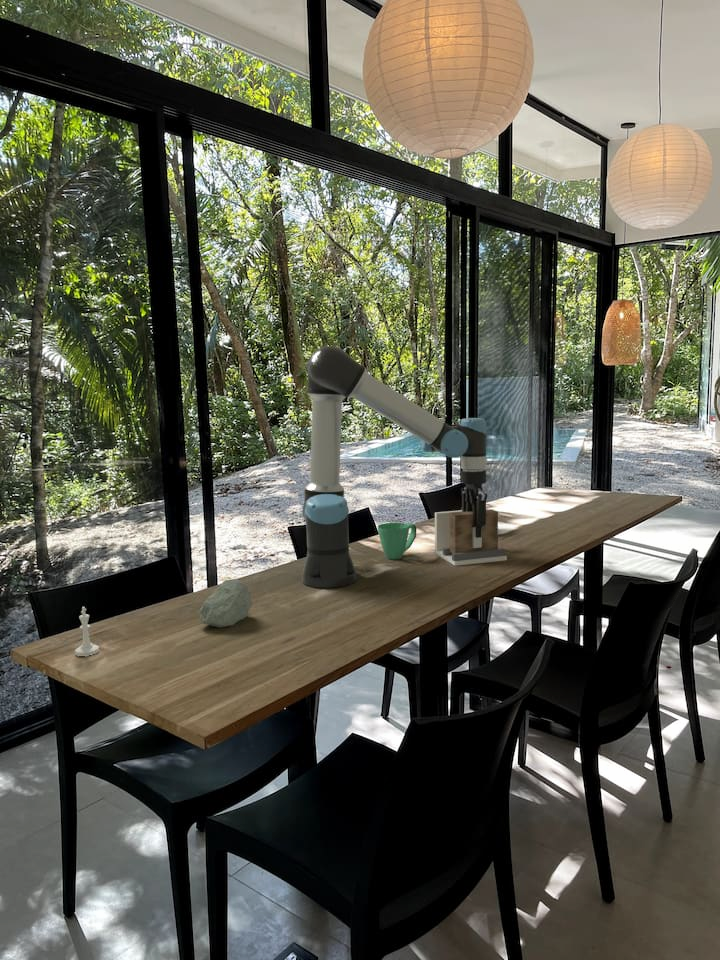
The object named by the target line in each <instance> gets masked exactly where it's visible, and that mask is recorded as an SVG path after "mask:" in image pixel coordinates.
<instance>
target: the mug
mask: <svg viewBox="0 0 720 960" xmlns="http://www.w3.org/2000/svg"><path fill="white" fill-rule="evenodd" d="M377 531H378V537H379V540H380V545H381V548H382V551H383V553H384V555H385V557H386V559H388V560H399V559H402V558H403V555H404V553H405V552H407V551H408V549H410V548H411V547H412V545H413V543H414V541H415V540H416V538H417V526H416V525H415V523H412V522H411V523H402V522H385V523H381V524H378V525H377ZM409 533H410V534H409Z"/></svg>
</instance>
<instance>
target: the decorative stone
mask: <svg viewBox="0 0 720 960" xmlns="http://www.w3.org/2000/svg"><path fill="white" fill-rule="evenodd" d="M252 604H253V602H252V599H251V592H250V591H249V588H248V585H247V584H245V582H242V581H241V580H239V579H237V578H232V579H225V580H224V581H222V582H221V584H220V585H219V586H218V587H216V588H215V590H214V591H213V593H212V594H211V595H209V596H208V598H207V599H206V600H205V602H204V603H203V605H202V606H201V608H199V612H198V614H199V620H200V622H201V623H202V624H204V625H209V626H210V627H214V628H218V629H219V628H222V629H223V628H226V627H232V626H234V625H235V624H236V623H238V622H240V621H242V620H244V619H245V618H247V617H248V615H249V611H250V609H251V607H252Z"/></svg>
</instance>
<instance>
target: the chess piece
mask: <svg viewBox="0 0 720 960" xmlns="http://www.w3.org/2000/svg"><path fill="white" fill-rule="evenodd" d="M86 611H87V608H86V607H85V606H82V608H81V611H80V614H81V615H79V616H78V618H79V620H80V623H81V625H80V626H79V629H80V630H82V642H81V643H82V644H80V646H79V647H77V648H76V649H74V655H75V656H76V655H77V656H76V657H79V656H85V657H90V656H89V655H91V656H93V654H94V655H96V654H98V653H99V652H100V647H99V646H98V645H96V644H93V643H92V642H91V639H90V634H89V629H90V628H91V625H90V624H88V622H89V620H90V619H89V618H90V614H87V613H86Z"/></svg>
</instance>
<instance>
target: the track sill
mask: <svg viewBox="0 0 720 960" xmlns="http://www.w3.org/2000/svg"><path fill="white" fill-rule="evenodd" d="M456 512H462V510H461V509H460V510H452V511H451V510H450V511H449V510H448V511H438V512H434V554H436V555H437V556H439V557H440V558H442V559H443V560H445V561H446V562H448V563H450V564H452V565H453V566H457V567H458V566H464V565H465V566H466V565H474V564H482V563H483V564H485V563H494V562H502V561H507V560H508V556H507V554H506V553H507V549H506V548H503V547H502V548H498V549H491V550H481V551H471V552H461V553H452V552H450V513H456Z"/></svg>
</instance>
